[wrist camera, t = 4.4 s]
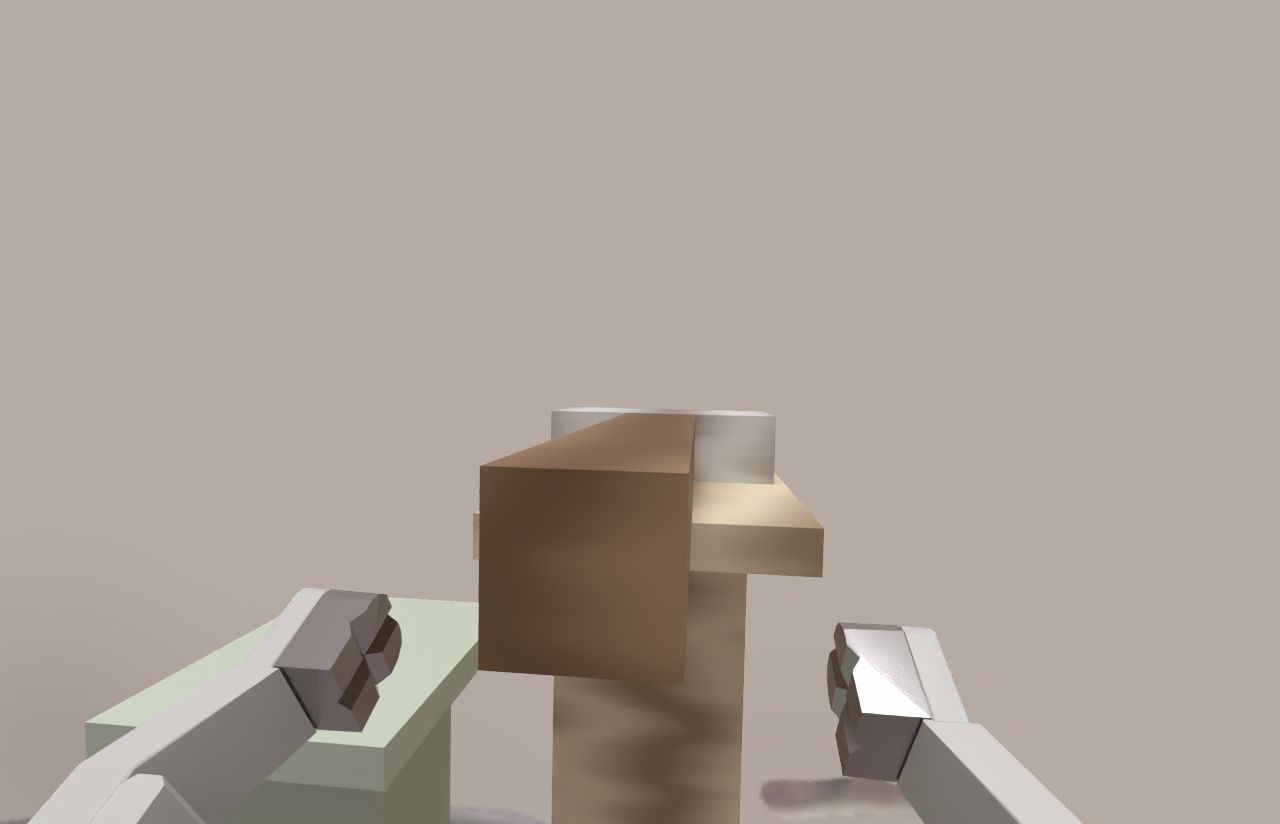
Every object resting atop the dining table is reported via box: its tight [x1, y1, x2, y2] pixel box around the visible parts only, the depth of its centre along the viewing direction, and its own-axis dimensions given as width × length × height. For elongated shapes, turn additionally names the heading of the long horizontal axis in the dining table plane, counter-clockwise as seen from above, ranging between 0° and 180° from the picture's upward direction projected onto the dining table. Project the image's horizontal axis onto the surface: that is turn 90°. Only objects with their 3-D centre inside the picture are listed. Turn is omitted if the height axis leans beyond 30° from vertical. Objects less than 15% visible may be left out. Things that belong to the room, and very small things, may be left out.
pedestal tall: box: [473, 473, 824, 824], centre depth 25 cm, size 11×13×26 cm
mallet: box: [478, 407, 776, 685], centre depth 20 cm, size 10×23×3 cm, turn 174°
